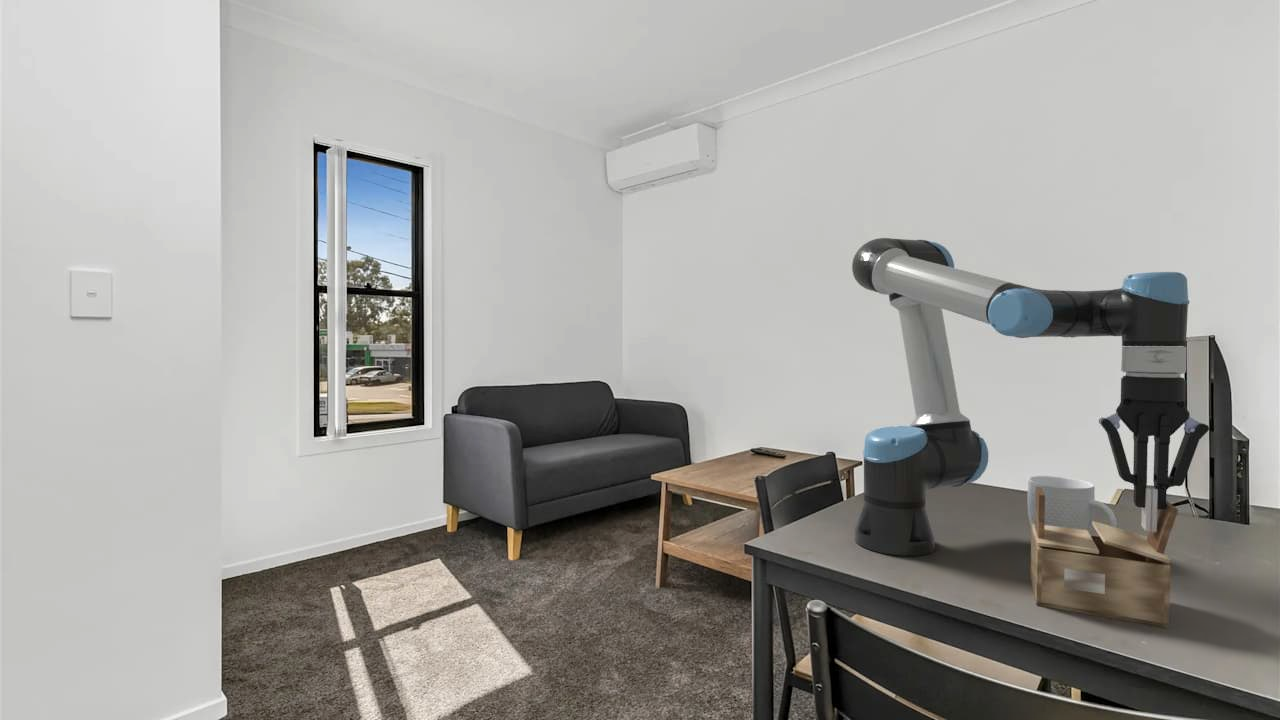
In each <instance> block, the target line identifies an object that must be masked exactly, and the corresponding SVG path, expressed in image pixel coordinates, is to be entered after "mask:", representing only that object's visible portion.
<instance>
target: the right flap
mask: <svg viewBox="0 0 1280 720" xmlns="http://www.w3.org/2000/svg"><path fill="white" fill-rule="evenodd" d="M1178 511H1179V509H1178V508H1176V506H1175V505H1173V504H1172V502H1170V501H1168V499H1166V508H1165V509H1164V510H1162V509H1157V532H1150V531H1148V535H1147V536H1145V535H1142V534H1138V533H1135V532H1132V531H1128V530H1125V529H1122V528H1119V527H1117V528H1116V527H1112V526H1110V524H1109V525H1108V524H1106V523H1102V522H1099V521H1098V522H1097V521H1096V520H1095V521H1094V520H1093V521H1092V527H1093V528H1094V530H1095V531H1096V532H1097V534H1098V536H1100V538H1101V539H1102V541H1103V542H1104V544H1108V545H1111V546H1114V547H1117V548H1121V549H1124V550H1127V551H1130V552H1134V553H1137V554H1140V555H1143V556H1147V557H1150V558H1153V559H1156V560H1160V561H1163V562H1166V563H1168V564H1169V565H1170V563H1171V559H1170V558H1169V557H1168V556H1167V554H1166V553H1165V550H1166V547H1167V544H1168V541H1169V538H1170V535H1171V532H1172V529H1173V526H1174V524H1175V520H1176V518H1177V514H1178Z"/></svg>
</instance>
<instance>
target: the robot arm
mask: <svg viewBox="0 0 1280 720" xmlns="http://www.w3.org/2000/svg"><path fill="white" fill-rule="evenodd" d="M851 265H852V266H851V271H852V276H853V278H854V279H855V281H856V282H857V284H858V285H859V286H861V287H862V288H864V289H865V290H869V291H872V292H874V293H878V294H881V295H884V296H885V295H886V296H887V295H888V297H889V304H890V306H891V307H893V308H894V309H895V310H897V311H898V315H899V320H900V327H901V333H902V341H903V344H904V345H903V346H904V351H905V357H906V363H907V371H908V375H909V381H910V388H911V394H912V399H913V405H914V406H913V407H914V412H915V418H914V420H913V421H912V422H911V423H910V424H909V425H908V426H907V425H899V426H885V427H880V428H875V429H874V430H871V431H870V432H868V433H867V435H866V436H865V438H864V448H863V452H862V454H863V505H862V507H861V510H860V513H859V515H858V518H857V520H856V523H855V527H854V542H856V543H857V544H858V545H859V546H861V547H862V548H865V549H868V550H871V551H874V552H877V553H881V554H887V555H894V556H905V557H906V556H909V557H912V556H915V557H917V556H924V555H927V554H928V555H929V554H930V553H932V552H934V551H935V549H936V537H935V535H934V531H933V527H932V525H931V521H930V518H929V516H928V513H927V509H926V508H927V507H926V500H927V499H926V498H927V497H926V495H927V494H926V493H927V491H926V490H932V489H940V488H949V487H961V486H963V485H968V484H971V483H974V482H976V481H977V480H979V479H980V478H981V476H982V475H983V474H984V473H985V471H986V470H987V467H988V463H989V450H988V449H989V448H988V445H987V442H986V441H985V440H984V438H983V437H981V436H980V434H979V433H978V432H976V431H974V430H973V429H972V425H971V420H970V418H968V417H967V416H966V415H964V414H963V413H962V412H961V410H960V405H959V399H958V393H957V387H956V381H955V376H954V370H953V364H952V359H951V354H950V353H951V352H950V349H949V342H948V336H947V331H946V326H945V319H944V313H943V310H946V311H948V312H952V313H954V314H958V315H962V316H964V317H967V318H970V319H973V320H975V321H978V322H982V323H985V324H988V325H991V327H992V328H993V329H994V330H995V332H997V333H999V334H1001V335H1003V336H1006V337H1014V338H1018V339H1025V338H1026V339H1027V338H1050V337H1053V338H1055V337H1058V338H1059V337H1060V338H1061V337H1062V338H1079V337H1080V338H1081V337H1087V338H1088V337H1121V346H1122V347H1121V366H1120V367H1121V368H1120V370H1121V372H1123V373H1125V375H1122V377H1121V378H1120V401H1119V402H1120V403H1119V405H1117V408H1116V410H1115V413H1113V414H1111V415H1109V416H1106V417H1101V418H1099V420H1098V423H1099V424H1100V426H1101V427H1102V428H1103V430H1104V431H1105V432H1106V434H1107V437H1108V441H1109V445H1110V448H1111V453H1112V456H1113V458H1114V462H1115V465H1116V469H1117V473H1118V477H1120V478H1121V479H1122V480H1123V481H1124V482H1127V483H1130V484H1132V485H1133V503H1134V505H1135V507H1136V508H1141V528H1143V530H1144V531H1145V532H1149V531H1150V532H1157V509H1162V510H1164V509H1165V508H1166V500H1167V491H1168V489H1170V488H1171V487H1181V486H1183V484H1184V483H1185V479H1186V477H1187V475H1188V471H1189V469H1190V466H1191V463H1192V461H1193V459H1194V456H1195V453H1196V450H1197V449H1198V448H1197V447H1198V444H1199V442H1200V440H1201V439H1202V438H1203V437H1204V436H1205V435H1206V434H1207V433H1208V432H1209V430H1210V426H1209V425H1208V424H1205V423H1203V422H1199V421H1198V420H1196V419H1194V417H1190V416H1191V414H1190V411H1189V410H1188V409H1187V406H1186V395H1187V394H1186V392H1187V391H1186V389H1187V386H1186V385H1187V380H1186V379H1185V377H1181V375H1182V374H1185V373H1186V372H1187V345H1188V343H1187V333H1188V332H1187V329H1188V310H1189V305H1190V300H1189V291H1188V290H1189V289H1188V279H1187V277H1186V275H1185V274H1183V273H1181V272H1177V271H1156V272H1155V271H1153V272H1140V273H1134V274H1133V273H1131V274H1129V275H1126V276H1125V277H1124V278H1123V282H1122V284H1121V285H1122V286H1121V287H1120V288H1113V289H1104V290H1103V289H1102V290H1085V291H1084V290H1051V289H1048V290H1047V289H1038V288H1034V287H1029V286H1027V285H1022V284H1017V283H1013V282H1011V281H1010V282H1009V281H1006V280H1001V279H998V278H994V277H989V276H987V275H983V274H979V273H975V272H971V271H967V270H964V269H963V270H962V269H959V268H955V262H954V259H953V256H952V255H951V253H950V251H949V250H948V249H947V248H946V247H945V246H943V245H942V244H941V243H938V242H935V241H930V240H926V239H904V238H903V239H901V238H890V237H889V238H888V237H880V238H875V239H872V240H869V241H867V242H865V243H864V244H863V245H861V247H859V248H858V250H857V251H856V252H855V254H854V255H853V259H852V263H851ZM1120 421H1122V422H1123V424H1124V425H1125V426H1126V427H1127V428H1128V430H1129V431H1130V432H1131V433H1132V435H1133V436H1132V437H1133V473H1131V470H1130V467H1129V463H1128V460H1127V456H1126V452H1125V449H1124V445H1123V442H1122V439H1121V438H1122V437H1121V436H1120V432H1119V431H1118V430H1119V429H1120V427H1121V424H1120ZM1183 425H1184V427H1183V430H1184V432H1185V433H1184V435H1183V437H1182V440H1181V443H1180V446H1179V448H1178V451H1177V454H1176V457H1175V459H1174V462H1173V463H1172V467H1171V471H1170V473H1169V458H1170V457H1169V456H1170V454H1169V453H1170V445H1171V436H1172V435H1174V434H1175V433H1176V432H1177V431H1178V430H1179V429H1180V428H1181V427H1182V426H1183ZM1152 436H1153V441H1154V446H1153V447H1154V452H1153V454H1154V455H1153V479H1152V480H1153V485H1150V484H1148V449H1149V448H1148V445H1149V444H1148V443H1149V437H1152Z"/></svg>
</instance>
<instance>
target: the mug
mask: <svg viewBox="0 0 1280 720" xmlns="http://www.w3.org/2000/svg"><path fill="white" fill-rule="evenodd" d="M1036 487H1042V490H1043V492H1044V494H1045V525H1048V526H1056V527H1065V528H1073V529H1081V530H1087V531H1088V532H1089V534H1090V533H1091V530H1092V527H1093V525H1092V521H1094V515H1095V507H1096V508H1099V509H1101V510H1102V511H1103V512H1104V513H1105V514H1106V517H1107V519H1108V523H1109V526H1112V527H1116V528H1118V523H1117V518H1116V516H1115V513H1114V512H1113V510H1112V509H1111V507H1109V506H1108V505H1107V504H1106V503H1104V502H1101V501H1098V500H1096V499H1095V484H1093V483H1092V482H1088V481H1086V480H1081V479H1077V478H1072V477H1063V476H1057V475H1056V476H1055V475H1054V476H1053V475H1033V476H1029V477H1028V478H1027V502H1026V503H1027V511H1028V512H1027V514H1028V520H1029V524H1030V526H1031V527H1032V524H1035V503H1036ZM1090 535H1091V534H1090Z"/></svg>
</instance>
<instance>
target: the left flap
mask: <svg viewBox="0 0 1280 720" xmlns="http://www.w3.org/2000/svg"><path fill="white" fill-rule="evenodd" d="M1032 529H1033V533H1034V536H1035V539H1036V543H1037V546H1044V547H1051V548H1058V549H1066V550H1073V551H1080V552H1088V553H1095V554H1099V550H1098V548H1097V546H1096V545H1095V543H1094V541H1093V539H1092V538H1091V536H1090V535H1091V534H1089V532H1088V531H1087V530H1081V529H1073V528H1065V527H1056V526H1048V525H1045V494H1044V492H1043V490H1042V487H1036V503H1035V524H1032Z"/></svg>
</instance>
